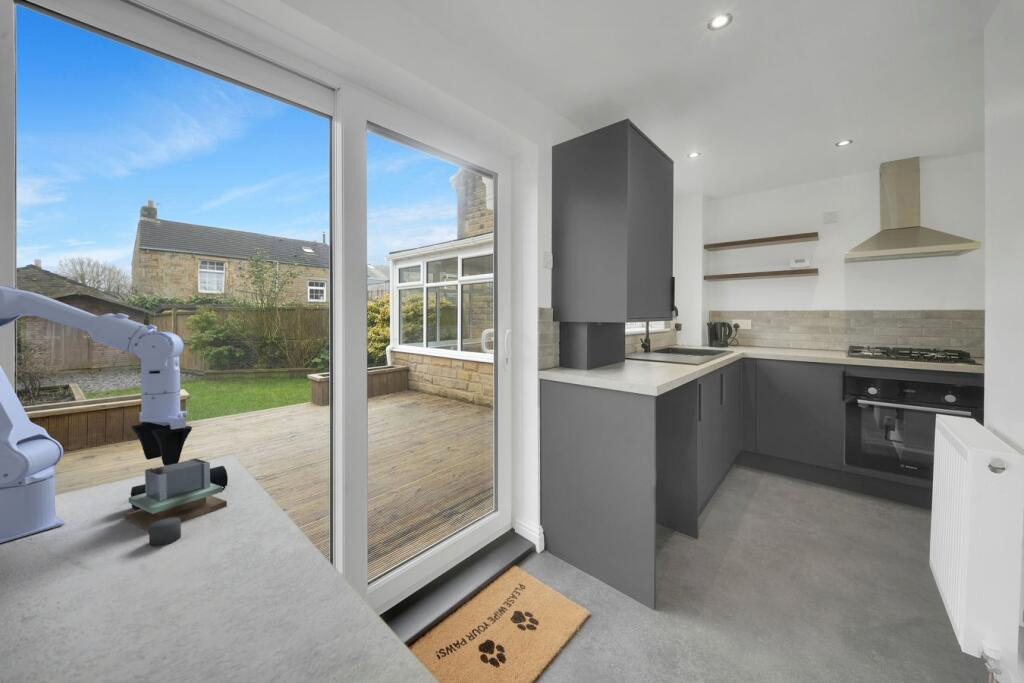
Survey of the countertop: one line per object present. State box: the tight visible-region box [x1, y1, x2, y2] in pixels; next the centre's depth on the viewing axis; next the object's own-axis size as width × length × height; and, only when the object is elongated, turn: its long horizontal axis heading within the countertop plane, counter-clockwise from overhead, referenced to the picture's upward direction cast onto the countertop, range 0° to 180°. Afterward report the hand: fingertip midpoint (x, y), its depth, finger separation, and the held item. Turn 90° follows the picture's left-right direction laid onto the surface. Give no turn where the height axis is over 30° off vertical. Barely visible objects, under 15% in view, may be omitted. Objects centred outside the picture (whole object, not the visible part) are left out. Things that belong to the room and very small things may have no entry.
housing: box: [144, 458, 211, 502], centre depth 77 cm, size 8×6×5 cm
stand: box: [124, 483, 228, 532], centre depth 77 cm, size 12×11×4 cm
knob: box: [148, 518, 182, 548], centre depth 66 cm, size 4×4×3 cm
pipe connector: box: [130, 465, 229, 511], centre depth 86 cm, size 12×5×15 cm
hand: (162, 461), depth 77 cm, fingers open, 7 cm apart
